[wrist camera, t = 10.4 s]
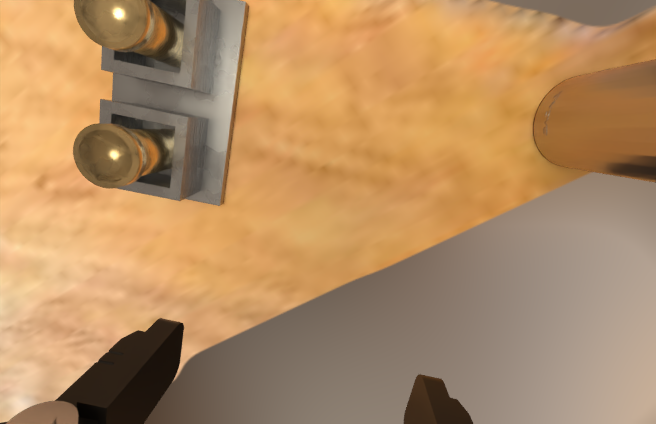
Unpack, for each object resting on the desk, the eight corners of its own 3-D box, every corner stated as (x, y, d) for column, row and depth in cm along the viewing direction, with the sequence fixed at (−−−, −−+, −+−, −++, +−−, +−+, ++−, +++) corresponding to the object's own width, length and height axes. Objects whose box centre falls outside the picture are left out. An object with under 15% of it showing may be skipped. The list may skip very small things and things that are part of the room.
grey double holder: (248, 6, 32) (205, -56, 22) (223, 203, 37) (177, 234, 26) (125, -21, 32) (18, -98, 21) (115, 181, 37) (24, 204, 26)
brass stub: (194, 130, 34) (139, 130, 24) (190, 175, 35) (135, 194, 26) (147, 120, 34) (73, 117, 24) (144, 166, 35) (72, 181, 25)
